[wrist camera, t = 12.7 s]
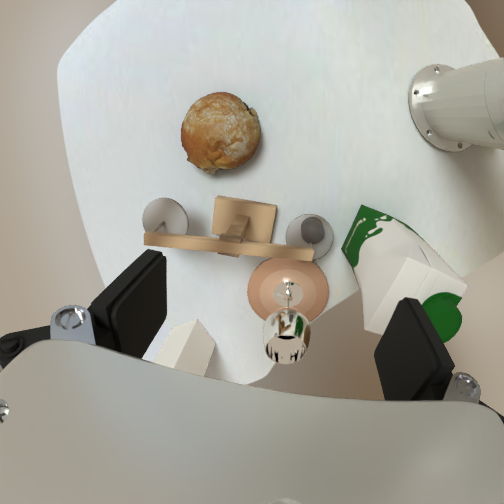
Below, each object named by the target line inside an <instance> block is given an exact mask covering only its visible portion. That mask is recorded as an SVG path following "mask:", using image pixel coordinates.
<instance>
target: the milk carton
mask: <svg viewBox="0 0 504 504" xmlns="http://www.w3.org/2000/svg"><path fill="white" fill-rule="evenodd" d="M341 249H342V251H343V253H344V254H345V256H346V258H347V260H348V261H349V263H350V265H351V266H352V269H353V271H354V274H355V277H356V279H357V282H358V285H359V287H360V290H361V293H362V302H363V317H364V330H367V331H370V332H373V333H377V334H380V335H383V334H384V332H385V330H386V327H387V325H388V323H389V321H390V319H391V317H392V315H393V312H394V310H395V308H396V306H397V304H398V302H399V301H400V300H402V299H403V298H404V297H408V298H415V299H418V300H419V302H420V303H421V305H422V307H423V308H424V310H425V312H426V313H427V315H428V317H429V319H430V320H431V322H432V324H433V325H434V327H435V329H436V331H437V333H438V334H439V336H440V338H441V340H442V342H443V343H445V342H447V341H449V340H450V339H451V338H452V337H453V336H454V335H455V334H456V333H457V332H458V330H459V328H460V326H461V323H462V315H461V313H460V311H459V310H458V308H457V307H456V306H457V305H458V303H459V302H460V300H461V299H462V295H463V294H464V292H465V291H466V289H467V287H468V285H467V284H466V283H465V282H464V281H463V280H462V279H461V278H460V277H459V276H458V274H457V273H456V272H455V271H454V270H453V269H452V268H451V267H450V266H449V265H448V264H447V263H446V262H445V261H444V260H443V259H442V258H441V257H440V256H439V255H438V253H437V252H436V251H435V250H434V249H433V248H432V247H431V246H430V245H429V244H428V243H427V242H425V241H424V240H423V239H422V238H421V237H420V236H419V235H418V234H417V233H416V232H415V231H414V230H413V229H412V228H411V227H409V226H408V225H406V224H405V223H403V222H401V221H399V220H397V219H395V218H393V217H391V216H389V215H387V214H384V213H382V212H379V211H377V210H374V209H371V208H369V207H366V206H364V205H361V207H360V209H359V211H358V214H357V216H356V218H355V220H354V222H353V225H352V227H351V229H350V231H349V233H348V235H347V237H346V240H345V242H344V244H343V246H342V248H341Z"/></svg>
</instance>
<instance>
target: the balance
mask: <svg viewBox="0 0 504 504" xmlns="http://www.w3.org/2000/svg"><path fill="white" fill-rule="evenodd" d="M276 207H277V205H272V204H266V203H260V202H255V201H249V200H243V199H237V198H231V197H225V196H217V197H216V198H215V207H214V216H213V226H212V233H213V234H219V235H220V238H212V237H202V236H192V235H186V233H187V231H188V217H187V214H186V212H185V210H184V209H183V207H182V206H181V205H180V204H179V203H177V202H176V201H174V200H172V199H169V198H158V199H156V200H154V201H152V202H150V203H149V204H148V205H147V207H146V208H145V210H144V213H143V219H142V220H143V227H144V229H145V233H144V245H149V246H159V247H169V248H179V249H189V250H200V251H210V252H218V254H222V255H227V256H232V257H237V258H238V257H239V255H240V254H241V255H251V256H261V257H272V258H282V259H293V260H303V261H312V260H314V259H317V258H320V257H322V256H323V255H325V254H326V253H327V252H328V250H329V249H330V247H331V245H332V242H333V233H332V229H331V227H330V225H329V223H328V222H327V221H326V220H325V219H323V218H322V217H320V216H318V215H314V214H305V215H301V216H299V217H297V218H295V219H294V220H293V221H292V222H291V223H290V225H289V226H288V228H287V231H286V243H287V245H281V244H271V243H270V240H271V235H272V229H273V224H274V218H275V212H276ZM243 239H246V240H251V241H242V240H243ZM252 241H257V242H252Z"/></svg>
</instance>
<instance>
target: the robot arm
mask: <svg viewBox="0 0 504 504" xmlns="http://www.w3.org/2000/svg"><path fill="white" fill-rule="evenodd" d="M434 69H435V70H434ZM414 92H415V94H416V95H415V94H414ZM409 106H410V112H411V115H412V118H413V120H414V122H415V124H416V126H417V128H418V130H419V131H420V133H421V134H422V135H423V136H424V137H425V138H426V140H427V141H429V142H430V143H431V144H432V145H434V146H436V147H438V148H439V149H442V150H446V151H451V152H458V151H462V150H465V149H467V148H468V147H470V146H471V145H472V144H475V145H481V146H486V147H492V148H496V149H501V150H504V57H503V58H498V59H494V60H490V61H485V62H481V63H477V64H473V65H470V66H466V67H462V68H459V69H454V68H452V67H449V66H447V65H441V64H434V65H430V66H427V67H425V68H423V69H421V70H420V71H419V72H418V73H417V74H416V75H415V77H414V78H413V80H412V82H411V85H410V89H409ZM426 131H427V132H428V133H427V132H426ZM166 262H167V261H166V257H165V256H163V254H162V252H160V251H155V250H150V249H147V250H146V251H145V252H144V253H143V254H142V255H141V256H139V257H138V258H137V259H136V260H135V261H134V262H133V263H132V264H131V265H130V266H129V267H128V268H127V269H125V270H124V271H123V272H122V273H121V274H120V275H119V276H118V277H117V278H116V279H115V280H114V281H113V282H112V283H111V284H110V285H109V286H108V287H107V288H106V289H105V290H104V291H103V292H102V293H101V294H100V295H99V296H98V297H97V298H96V299H95V300H94V301H93V302H92V303H91V305H90V306H89V308H88V309H86V308H84V307H81V306H77V305H69V306H65V307H62V308H60V309H58V310H57V311H56V312H55V313H54V314H53V315H52V317H51V322H50V323H51V324H50V325H49V326H44V327H39V328H34V329H29V330H24V331H18V332H13V333H9V334H6V335H4V336H3V337H1V338H0V504H504V417H503V416H502V415H500V414H499V413H498V412H496V411H495V410H493V409H492V408H490V407H489V406H487V405H486V404H484V403H483V402H481V401H480V400H479V399H480V394H481V390H480V386H479V384H478V382H477V381H476V380H475V379H474V378H473V377H471V376H470V375H469V374H466V373H463V372H457V373H455V374H454V375H453V374H452V372H451V371H452V370H453V369H454V367H455V365H454V363H453V361H452V359H451V357H450V355H449V353H448V351H447V349H446V347H445V346H444V344H443V342H442V340H441V338H440V336H439V334H438V333H437V331H436V329H435V327H434V325H433V324H432V322H431V320H430V319H429V317H428V315H427V313H426V312H425V310H424V308H423V307H422V305H421V303H420V302H419V300H418V299H415V298H408V297H404V298H403V299H402V300H400V301H399V302H398V304H397V306H396V308H395V310H394V312H393V315H392V317H391V319H390V321H389V323H388V325H387V327H386V330H385V332H384V334H383V336H382V338H381V340H380V342H379V344H378V346H377V348H376V350H375V353H374V357H375V362H376V366H377V369H378V373H379V377H380V381H381V385H382V390H383V394H384V398H385V400H362V399H347V398H335V397H324V396H314V395H306V394H297V393H290V392H283V391H276V390H270V389H264V388H258V387H252V386H247V385H242V384H237V383H232V382H227V381H223V380H218V379H214V378H209V377H205V376H201V375H197V374H193V373H189V372H185V371H181V370H177V369H174V368H170V367H167V366H163V365H160V364H156V363H153V362H150V361H146V360H143V359H142V357H143V355H144V354H145V352H146V350H147V349H148V347H149V345H150V344H151V342H152V341H153V339H154V337H155V336H156V334H157V332H158V331H159V329H160V328H161V326H162V324H163V323H164V321H165V319H166V316H167V284H166Z"/></svg>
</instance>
